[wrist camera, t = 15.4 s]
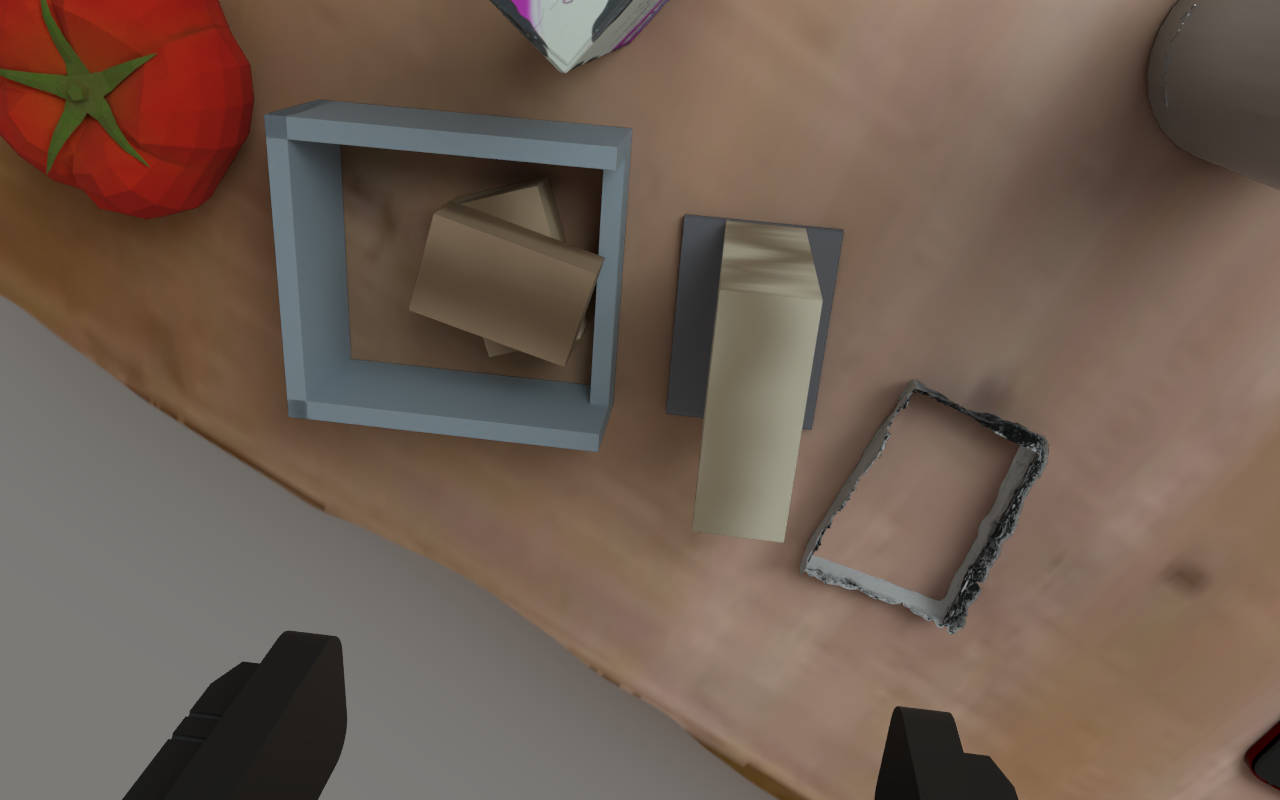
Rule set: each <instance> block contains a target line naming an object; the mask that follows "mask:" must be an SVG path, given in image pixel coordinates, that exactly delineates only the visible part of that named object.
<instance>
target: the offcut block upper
mask: <svg viewBox="0 0 1280 800" xmlns="http://www.w3.org/2000/svg"><path fill="white" fill-rule="evenodd" d="M604 259H605V257H602V256H600V255H597V254H594V253H591V252H589V251H586V250H583V249H581V248H578V247H575V246H573V245H570V244H567V243H565V242H562V241H559V240H557V239H554V238H551V237H548V236H546V235H543V234H540V233H538V232H535V231H532V230H530V229H527V228H524V227H522V226H519V225H516V224H513V223H511V222H508V221H505V220H503V219H500V218H497V217H495V216H492V215H489V214H487V213H484V212H481V211H479V210H476V209H473V208H470V207H468V206H465V205H462V204H460V203H457V202H454V201H451V202H449V203H448V204H446V205H445V206H444V207H442V208H441V209H439V210H438V211H437V212H435V213H434V214H433V218H432V222H431V226H430V230H429V233H428V237H427V241H426V245H425V249H424V253H423V256H422V260H421V264H420V268H419V272H418V275H417V279H416V283H415V287H414V291H413V294H412V298H411V302H410V306H409V310H410V311H412V312H415V313H418V314H421V315H423V316H426V317H429V318H432V319H434V320H437V321H440V322H443V323H445V324H448V325H451V326H453V327H456V328H459V329H462V330H464V331H467V332H470V333H473V334H475V335H478V336H481V337H483V338H486V339H489V340H492V341H494V342H497V343H500V344H503V345H505V346H508V347H511V348H514V349H516V350H519V351H522V352H524V353H527V354H530V355H533V356H535V357H538V358H541V359H544V360H546V361H549V362H552V363H555V364H557V365H560V366H563V367H565V364H566V362H567V360H568V358H569V356H570V354H571V352H572V350H573V348H574V346H575V343H576V340H577V337H578V334H579V331H580V328H581V325H582V323H583V320H584V317H585V314H586V311H587V308H588V305H589V302H590V299H591V297H592V294H593V291H594V288H595V285H596V282H597V279H598V276H599V273H600V270H601V268H602V265H603V262H604Z"/></svg>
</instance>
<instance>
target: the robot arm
mask: <svg viewBox="0 0 1280 800" xmlns="http://www.w3.org/2000/svg"><path fill="white" fill-rule="evenodd" d="M1147 77H1148V96H1149V100H1150V103H1151V107H1152V110H1153V114H1154V116H1155V118H1156V120H1157V122H1158V123H1159V125H1160V127H1161V129H1162V130H1163V132H1164V133H1165V134H1166V135H1167V136H1168V137H1169V138H1170V139H1171V140H1172V141H1173V142H1174V143H1175V144H1176V145H1177V146H1178V147H1180V148H1181V149H1183V150H1185V151H1186V152H1188V153H1190V154H1191V155H1193V156H1195V157H1197V158H1200V159H1203V160H1205V161H1208V162H1210V163H1213V164H1215V165H1218V166H1221V167H1223V168H1226V169H1228V170H1230V171H1232V172H1235V173H1237V174H1240V175H1243V176H1245V177H1248V178H1250V179H1253V180H1255V181H1258V182H1261V183H1263V184H1266V185H1268V186H1271V187H1273V188H1276V189H1279V190H1280V0H1179V1H1178V2H1177V3H1176V5H1175V6H1174V7H1173V8H1172V10H1171V11H1170V13H1169V15H1168V16H1167V18H1166V20H1165V21H1164V23H1163V25H1162V26H1161V28H1160V30H1159V32H1158V35H1157V38H1156V40H1155V43H1154V46H1153V48H1152V51H1151V56H1150V62H1149V68H1148V73H1147ZM346 727H347V710H346V696H345V682H344V668H343V655H342V645H341V642H340V639H339V638H338V637H336V636H329V635H321V634H313V633H305V632H296V631H285V632H284V633H283V634H281V635H280V637H279V638H278V639H277V641H276V642H275V643H274V645H273V646H272V648H271V649H270V650H269V652H268V653H267V655H266V656H265V658H264V659H263V660H262V662H261V663H260V664H258V663H250V662H242V663H240V664H239V665H237V666H236V667H234V668H233V669H232V670H230V671H229V672H227V673H226V674H224V675H223V676H221V677H220V678H218V679H217V680H215V681H214V682H213V683H211V684H210V685H209V687H208V688H207V689H206V691H205V692H204V693H203V695H202V696H201V697H200V698H199V700H198V701H197V702H196V704H195V705H194V706H193V708H192V709H191V710H190V714H189V716H188V717H185V718H184V719H183V721H182V722H181V723H180V725H179V726H178V727H177V729H176V730H175V731H174V733H173V736H172V739H171V740H170V739H168V740H167V742H166V743H165V744H164V746H163V747H162V748H161V750H160V751H159V752H158V753H157V755H156V756H155V757H154V759H153V760H152V761H151V763H150V764H149V765H148V766H147V768H146V769H145V771H144V772H143V773H142V774H141V776H140V777H139V778H138V780H137V781H136V782H135V783H134V785H133V786H132V788H131V789H130V790H129V792H128V793H127V794H126V795H125V797H124V798H123V799H122V800H318V798H319V796H320V795H321V792H322V790H323V789H324V787H325V785H326V783H327V781H328V779H329V777H330V775H331V774H332V772H333V770H334V768H335V766H336V764H337V762H338V760H339V757H340V754H341V751H342V748H343V744H344V740H345V734H346ZM875 800H1018V797H1017V794H1016V791H1015V788H1014V786H1013V785H1012V784H1011V782H1010V781H1009V780H1008V779H1007V778H1006V776H1005V775H1004V774H1003V773H1002V771H1001V770H1000V769H999V768H998V766H997V765H996V764H995V763H994V761H993V760H992V759H991V758H990V757H989V756H985V755H977V754H969V753H964V752H963V749H962V745H961V742H960V738H959V735H958V731H957V727H956V724H955V721H954V718H953V716H952V714H951V713H949V712H941V711H933V710H925V709H917V708H909V707H900V706H897V707H896V708H895V709H894V711H893V714H892V717H891V722H890V726H889V731H888V735H887V740H886V744H885V749H884V753H883V758H882V762H881V767H880V771H879V776H878V780H877V785H876V791H875Z"/></svg>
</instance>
